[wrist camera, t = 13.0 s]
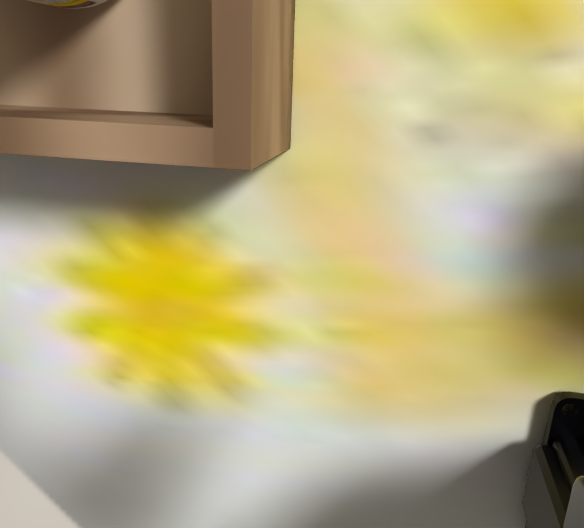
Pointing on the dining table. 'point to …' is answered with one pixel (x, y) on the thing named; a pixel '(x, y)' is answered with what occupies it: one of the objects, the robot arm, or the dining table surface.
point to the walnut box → (148, 81)
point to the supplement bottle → (70, 3)
